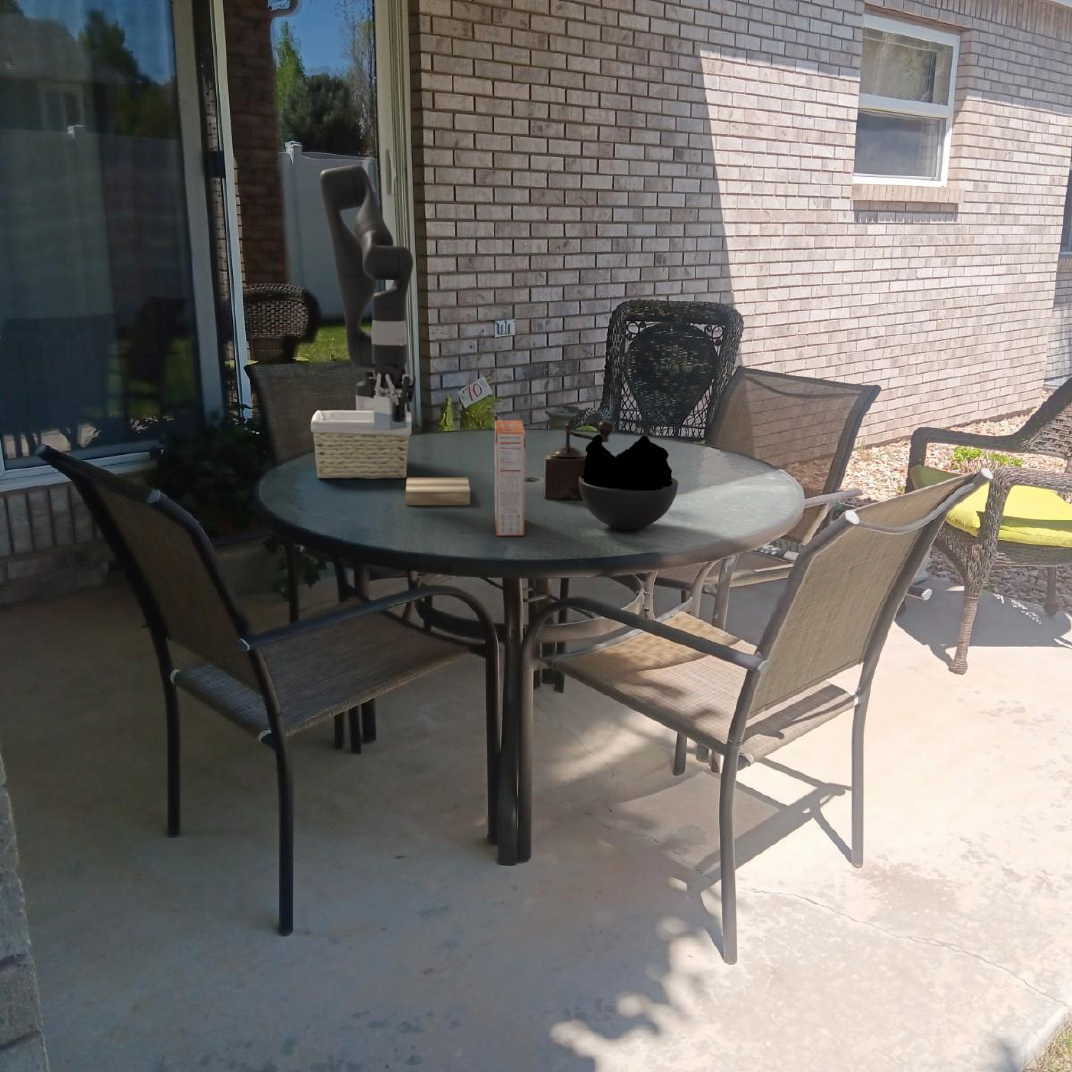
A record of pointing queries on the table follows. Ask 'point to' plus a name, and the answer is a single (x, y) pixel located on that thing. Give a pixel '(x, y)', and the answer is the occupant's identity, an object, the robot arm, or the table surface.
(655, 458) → the bowl of black rocks
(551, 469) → the wooden coffee grinder
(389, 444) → the storage basket
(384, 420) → the gray block
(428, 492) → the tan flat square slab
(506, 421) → the cracker box
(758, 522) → the table surface
